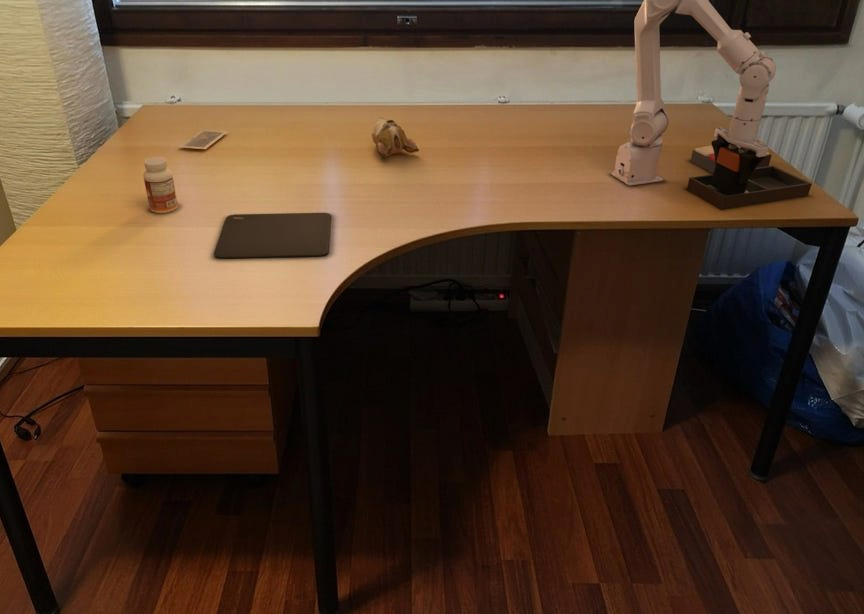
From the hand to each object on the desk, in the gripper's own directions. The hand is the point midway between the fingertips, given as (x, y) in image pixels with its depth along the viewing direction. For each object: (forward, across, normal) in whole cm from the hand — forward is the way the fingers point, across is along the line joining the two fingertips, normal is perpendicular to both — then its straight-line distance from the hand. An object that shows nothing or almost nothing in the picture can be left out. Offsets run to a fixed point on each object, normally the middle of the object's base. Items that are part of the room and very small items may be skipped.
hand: (730, 177), depth 168 cm
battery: (+3, 0, 0) cm, 3 cm away
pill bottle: (+5, +35, +123) cm, 128 cm away
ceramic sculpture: (+5, +53, +63) cm, 83 cm away
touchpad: (+5, +77, +109) cm, 134 cm away
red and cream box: (+5, +16, -14) cm, 22 cm away
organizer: (+4, 0, -6) cm, 7 cm away
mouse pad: (+4, +13, +102) cm, 103 cm away
